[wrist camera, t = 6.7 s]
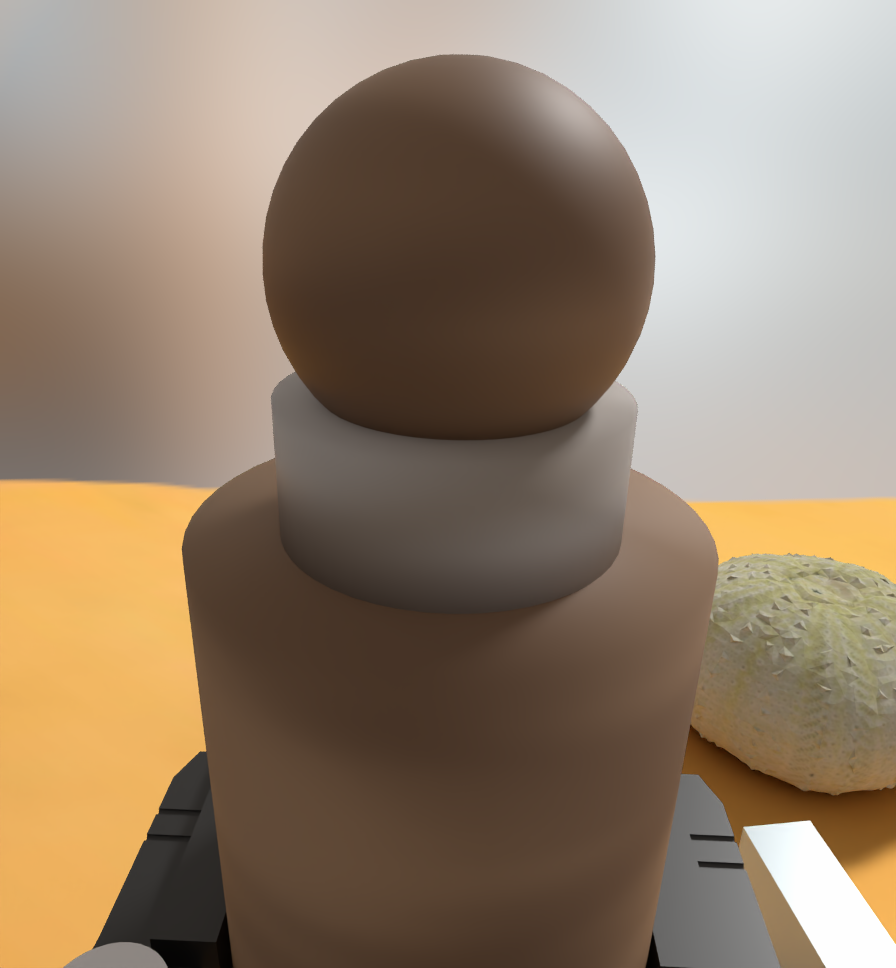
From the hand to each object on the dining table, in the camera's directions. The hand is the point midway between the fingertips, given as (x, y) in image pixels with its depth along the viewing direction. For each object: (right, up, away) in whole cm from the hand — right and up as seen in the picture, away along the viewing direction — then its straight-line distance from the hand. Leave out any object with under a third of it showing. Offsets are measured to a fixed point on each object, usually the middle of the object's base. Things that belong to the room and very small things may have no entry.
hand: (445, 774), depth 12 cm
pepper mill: (0, -9, +1) cm, 9 cm away
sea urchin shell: (+11, -3, +15) cm, 19 cm away
